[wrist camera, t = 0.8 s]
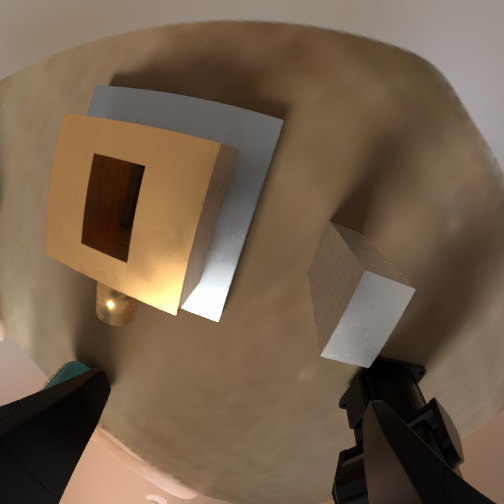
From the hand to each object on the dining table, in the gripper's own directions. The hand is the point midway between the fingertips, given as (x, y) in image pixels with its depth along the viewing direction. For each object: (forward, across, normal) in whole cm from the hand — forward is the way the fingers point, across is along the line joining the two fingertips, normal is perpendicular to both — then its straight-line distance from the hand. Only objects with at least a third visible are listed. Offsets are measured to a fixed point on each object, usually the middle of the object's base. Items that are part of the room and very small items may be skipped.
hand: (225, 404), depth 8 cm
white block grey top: (+12, -5, -1) cm, 13 cm away
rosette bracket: (+12, +8, -5) cm, 15 cm away
